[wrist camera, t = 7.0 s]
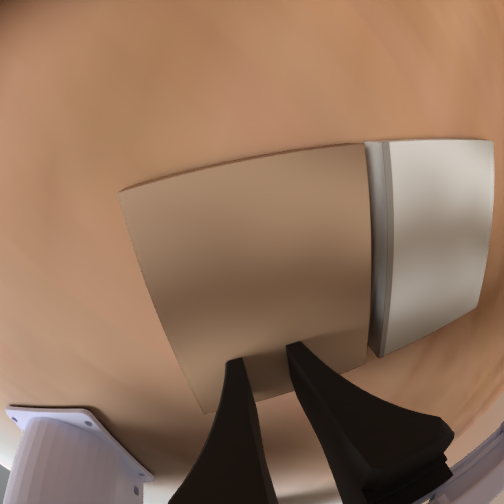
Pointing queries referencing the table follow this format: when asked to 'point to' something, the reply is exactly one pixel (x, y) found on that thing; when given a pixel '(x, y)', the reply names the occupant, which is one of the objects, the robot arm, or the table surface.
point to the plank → (258, 263)
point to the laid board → (426, 234)
